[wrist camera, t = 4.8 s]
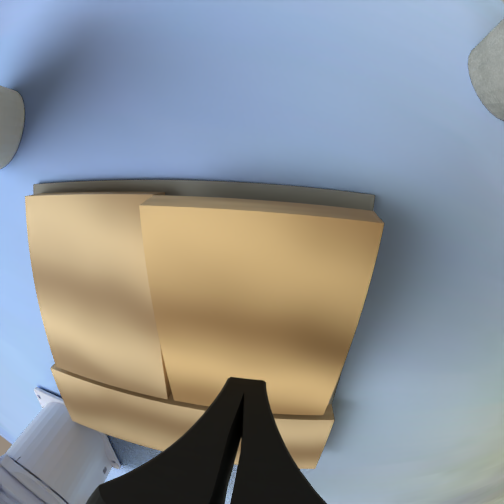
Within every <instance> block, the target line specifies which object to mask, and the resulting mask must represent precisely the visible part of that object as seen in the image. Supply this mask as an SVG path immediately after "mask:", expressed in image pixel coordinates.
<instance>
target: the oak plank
mask: <svg viewBox="0 0 504 504" xmlns="http://www.w3.org/2000/svg"><path fill="white" fill-rule="evenodd" d="M139 209H140V220H141V229H142V238H143V246H144V254H145V261H146V268H147V275H148V282H149V288H150V294H151V300H152V305H153V311H154V316H155V321H156V326H157V331H158V336H159V341H160V345H161V350H162V354H163V359H164V363H165V367H166V371H167V375H168V379H169V383H170V387H171V391H172V395H173V398H174V400H175V401H180V402H186V403H191V404H197V405H203V406H210V405H211V404H212V402H213V401H214V400H215V398H216V397H217V396H218V394H219V393H220V391H221V390H222V388H223V386H224V385H225V383H226V381H227V379H228V378H230V377H236V378H245V379H255V380H264V381H265V382H266V389H267V395H268V400H269V404H270V408H271V411H272V413H273V414H290V415H323V414H324V412H325V410H326V408H327V405H328V403H329V401H330V398H331V396H332V393H333V391H334V388H335V386H336V383H337V381H338V378H339V376H340V373H341V370H342V368H343V365H344V362H345V360H346V357H347V354H348V351H349V348H350V346H351V343H352V340H353V337H354V334H355V331H356V328H357V325H358V322H359V318H360V315H361V312H362V309H363V305H364V302H365V299H366V295H367V292H368V288H369V284H370V281H371V277H372V273H373V269H374V266H375V262H376V258H377V253H378V249H379V245H380V241H381V236H382V232H383V227H384V223H383V221H382V220H381V219H380V218H379V217H378V216H377V214H376V213H375V212H374V211H370V210H361V209H352V208H343V207H334V206H324V205H314V204H303V203H292V202H280V201H266V200H252V199H236V198H218V197H197V196H169V195H153V196H152V197H150V198H149V199H147V200H146V201H145V202H143V203H142V204H140V205H139Z"/></svg>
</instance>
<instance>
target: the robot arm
mask: <svg viewBox="0 0 504 504" xmlns="http://www.w3.org/2000/svg"><path fill="white" fill-rule="evenodd" d="M34 391H35V394H36V396H37V398H38V400H39V402H40V404H41V406H42V408H43V409H42V410H41V411H40V412H39V413H38V414H37V416H36V417H35V418H34V419H33V420H32V421H31V423H30V424H29V425H28V426H27V427H26V429H25V430H24V431H23V432H22V433H21V435H20V436H19V437H18V438H17V439H16V441H15V442H14V443H13V444H12V446H11V447H10V448H9V449H8V451H7V452H6V453H5V454H4V455H2V456H0V504H225V498H226V492H227V487H228V483H229V479H230V476H231V472H232V469H233V465H234V462H235V458H236V454H237V451H238V447H239V443H240V440H241V451H240V457H239V462H238V468H237V473H236V478H235V483H234V488H233V493H232V498H231V503H230V504H327V503H326V502H325V501H324V500H323V499H322V498H321V497H320V496H319V494H318V493H317V492H316V491H315V490H314V488H313V487H312V486H311V484H310V483H309V482H308V480H307V479H306V478H305V477H304V475H303V474H302V472H301V471H300V469H299V468H298V466H297V465H296V463H295V461H294V460H293V458H292V456H291V455H290V453H289V451H288V449H287V447H286V445H285V443H284V441H283V439H282V437H281V435H280V432H279V430H278V427H277V425H276V422H275V419H274V417H273V414H272V411H271V408H270V404H269V400H268V395H267V389H266V382H265V381H264V380H255V379H245V378H236V377H230V378H228V379H227V381H226V383H225V385H224V386H223V388H222V390H221V391H220V393H219V394H218V396H217V397H216V398H215V400H214V401H213V402H212V404H211V405H210V406H209V408H208V409H207V410H206V411H205V413H204V414H203V415H202V416H201V417H200V418H199V419H198V420H197V421H196V422H195V424H194V425H193V426H192V427H191V428H190V429H189V430H188V431H187V432H186V433H185V434H184V435H182V436H181V437H180V438H179V439H178V440H177V441H176V442H174V443H173V444H172V445H171V446H169V447H168V448H167V449H165V450H164V451H163V452H161V453H160V454H159V455H157V456H156V457H154V458H153V459H151V460H150V461H148V462H146V463H145V464H143V465H141V466H139V467H138V468H136V469H134V470H132V471H130V472H128V473H126V474H124V475H122V476H120V477H117V478H115V479H113V480H110V481H108V482H105V480H106V478H107V476H108V474H109V472H110V470H111V468H112V467H114V468H117V469H120V468H121V465H120V463H119V461H118V459H117V457H116V454H115V452H114V450H113V448H112V446H111V444H110V442H109V439H108V437H107V435H106V434H104V433H102V432H99V431H96V430H94V429H91V428H88V427H86V426H84V425H81V424H79V423H76V422H74V421H72V419H71V417H70V415H69V412H68V410H67V408H66V406H65V403H64V401H63V399H62V398H60V397H57V396H55V395H53V394H51V393H49V392H46V391H44V390H42V389H40V388H38V387H36V388H35V389H34ZM104 482H105V483H104Z"/></svg>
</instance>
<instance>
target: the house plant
mask: <svg viewBox="0 0 504 504" xmlns="http://www.w3.org/2000/svg"><path fill="white" fill-rule="evenodd" d="M468 69H469V75H470V78H471V81H472V85H473V87H474V89H475V91H476V93H477V95H478V97H479V98H480V100H481V101H482V103H483V105H484V106H485V107H486V108H487V109H488V110H489V112H490V113H492V114H493V115H494V116H495V117H497V118H498V119H501V120H503V121H504V19H503V20H502V21H501V22H500V23H499V24H498V25H497V26H496V27H495V28H494V29H493V30H492V31H491V32H490V33H489V34H488V35H487V36H486V37H485V38H484V39H483V40H482V41H481V42H480V43H479V44H478V45H477V46H476V47H475V48H474V49H473V50H472V51H471V53H470V55H469V59H468Z"/></svg>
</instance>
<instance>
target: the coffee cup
mask: <svg viewBox="0 0 504 504" xmlns="http://www.w3.org/2000/svg"><path fill="white" fill-rule="evenodd" d="M24 119H25V110H24V103H23V99H22V97H21V95H20V94H19V93H18V92H17V91H15V90H12V89H9V88H6V87H3V86H0V169H2V168H3V167H5V166H6V165H7V164H8V163H9V162H10V161H11V159H12V158H13V156H14V154H15V153H16V151H17V148H18V146H19V143H20V140H21V136H22V132H23V127H24Z"/></svg>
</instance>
